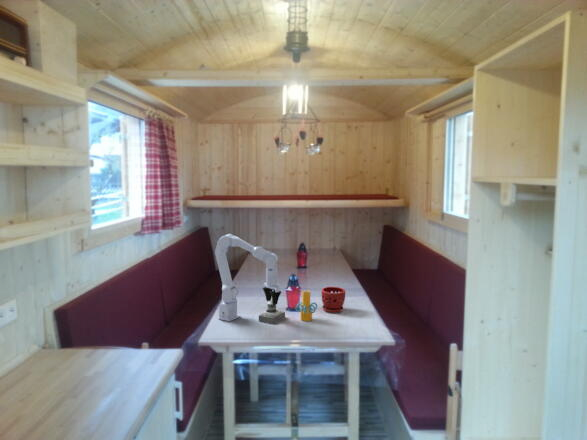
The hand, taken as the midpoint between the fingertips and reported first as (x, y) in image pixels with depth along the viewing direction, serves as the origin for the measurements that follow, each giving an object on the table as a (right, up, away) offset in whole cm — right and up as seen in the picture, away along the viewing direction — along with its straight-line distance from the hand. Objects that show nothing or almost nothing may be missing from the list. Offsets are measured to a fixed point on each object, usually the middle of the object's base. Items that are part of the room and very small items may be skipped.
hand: (271, 302), depth 225 cm
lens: (0, -6, +1) cm, 6 cm away
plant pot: (+33, -8, +15) cm, 38 cm away
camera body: (0, -9, +1) cm, 9 cm away
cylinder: (+18, -9, 0) cm, 20 cm away
